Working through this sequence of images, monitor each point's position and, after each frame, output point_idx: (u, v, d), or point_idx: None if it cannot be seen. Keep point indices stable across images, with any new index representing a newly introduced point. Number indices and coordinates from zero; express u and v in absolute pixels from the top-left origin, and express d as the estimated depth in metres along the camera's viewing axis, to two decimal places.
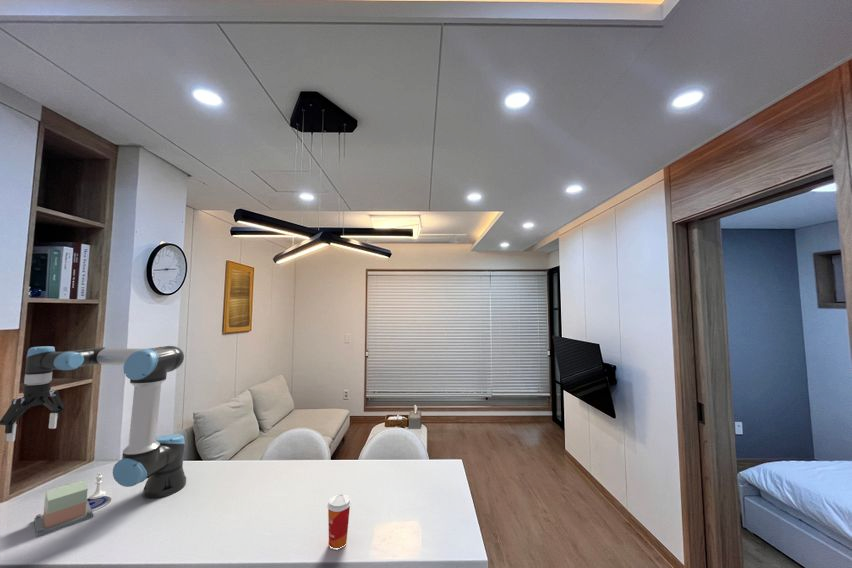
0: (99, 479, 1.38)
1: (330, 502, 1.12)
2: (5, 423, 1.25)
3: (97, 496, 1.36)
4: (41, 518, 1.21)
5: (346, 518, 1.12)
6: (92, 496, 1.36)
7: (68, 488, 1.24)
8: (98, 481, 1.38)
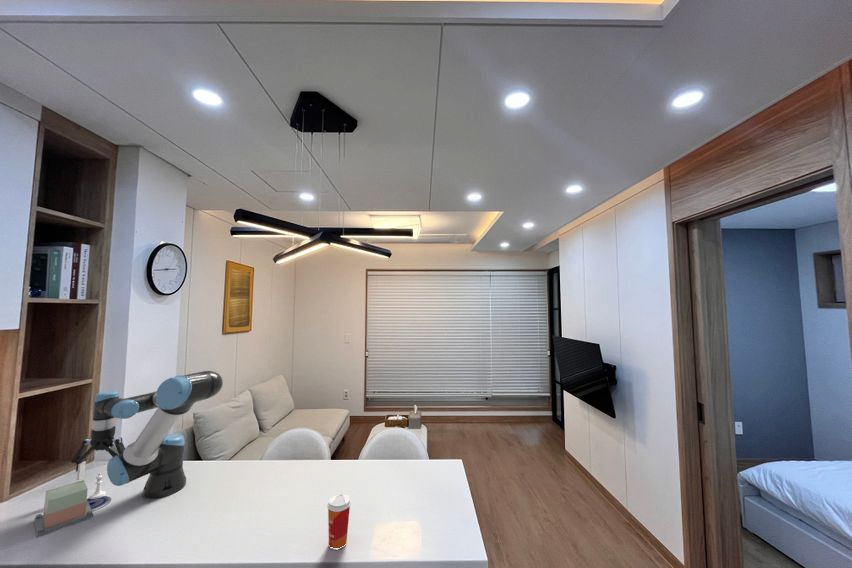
0: (99, 479, 1.38)
1: (330, 502, 1.12)
2: (72, 461, 1.36)
3: (97, 496, 1.36)
4: (41, 518, 1.21)
5: (346, 518, 1.12)
6: (92, 496, 1.36)
7: (68, 488, 1.24)
8: (98, 481, 1.38)
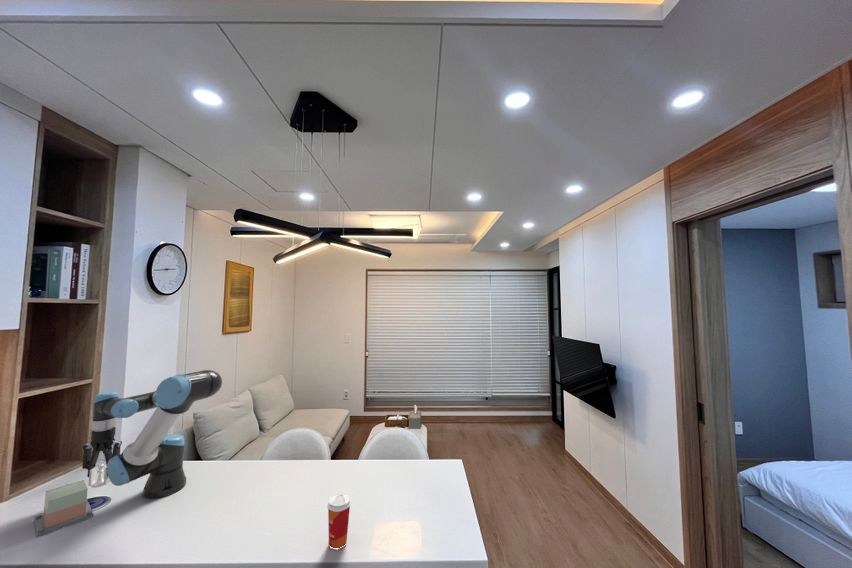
0: (101, 468, 1.38)
1: (330, 502, 1.12)
2: (83, 467, 1.36)
3: (99, 484, 1.36)
4: (41, 518, 1.21)
5: (346, 518, 1.12)
6: (94, 484, 1.36)
7: (68, 488, 1.24)
8: (100, 470, 1.38)
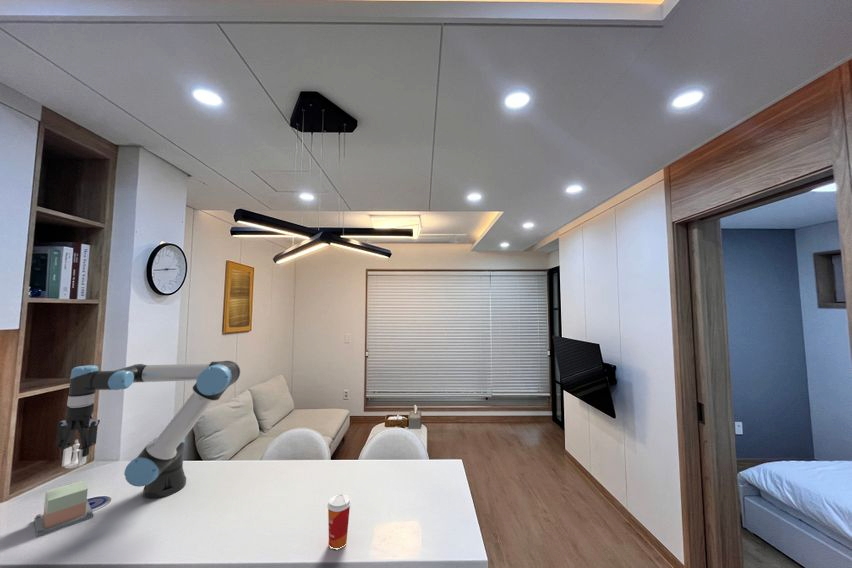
0: (76, 447, 1.27)
1: (330, 502, 1.12)
2: (57, 446, 1.25)
3: (73, 465, 1.25)
4: (41, 518, 1.21)
5: (346, 518, 1.12)
6: (68, 465, 1.25)
7: (68, 488, 1.24)
8: (75, 449, 1.27)
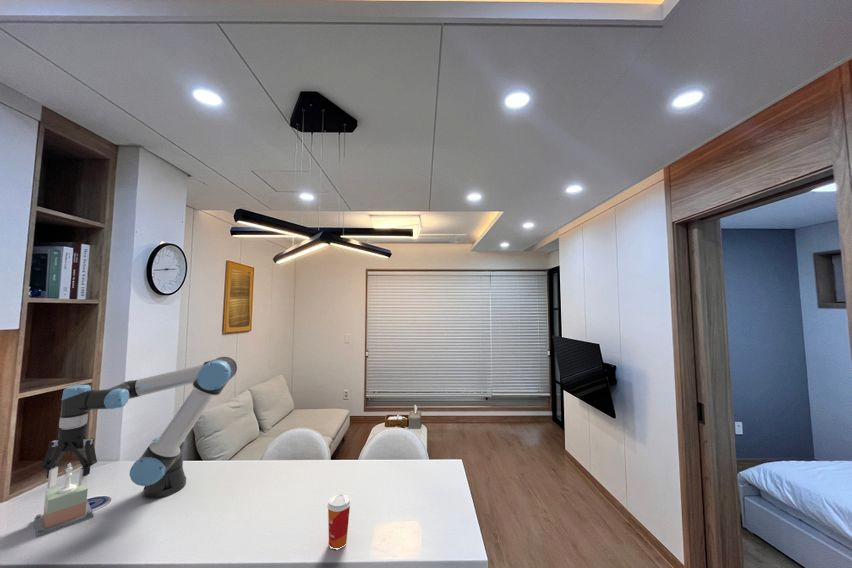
0: (69, 471, 1.24)
1: (330, 502, 1.12)
2: (42, 467, 1.22)
3: (66, 490, 1.22)
4: (41, 518, 1.21)
5: (346, 518, 1.12)
6: (60, 490, 1.22)
7: None
8: (68, 473, 1.23)
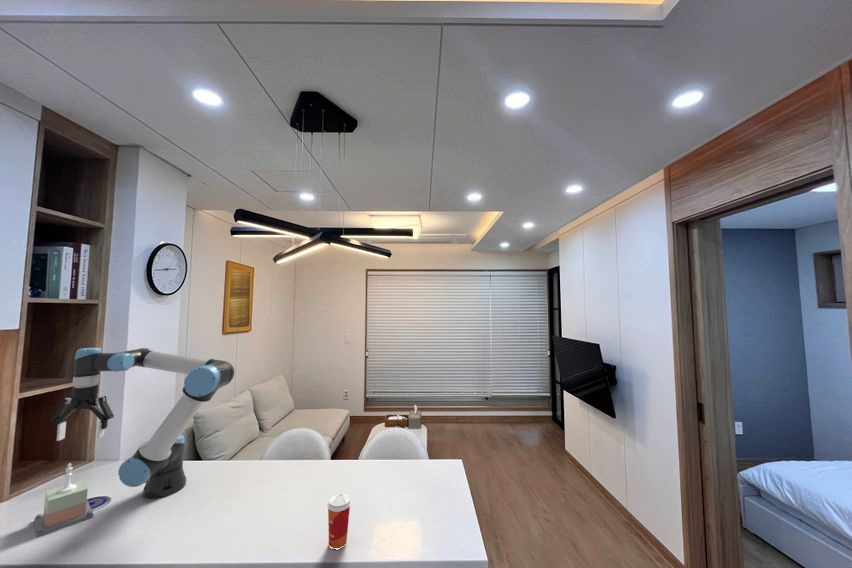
0: (69, 471, 1.24)
1: (330, 502, 1.12)
2: (51, 421, 1.28)
3: (66, 490, 1.22)
4: (41, 518, 1.21)
5: (346, 518, 1.12)
6: (60, 490, 1.22)
7: None
8: (68, 473, 1.23)
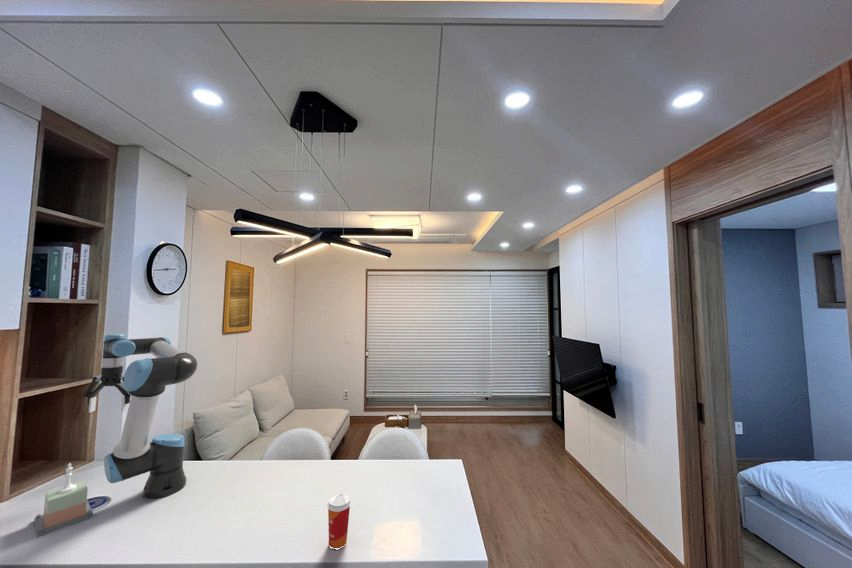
0: (69, 471, 1.24)
1: (330, 502, 1.12)
2: (84, 395, 1.50)
3: (66, 490, 1.22)
4: (41, 518, 1.21)
5: (346, 518, 1.12)
6: (60, 490, 1.22)
7: None
8: (68, 473, 1.23)
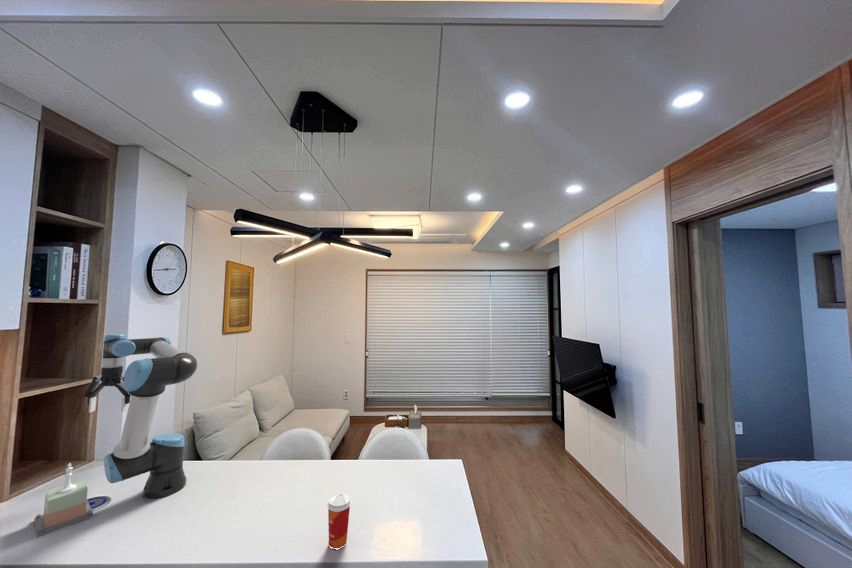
0: (69, 471, 1.24)
1: (330, 502, 1.12)
2: (84, 395, 1.50)
3: (66, 490, 1.22)
4: (41, 518, 1.21)
5: (346, 518, 1.12)
6: (60, 490, 1.22)
7: None
8: (68, 473, 1.23)
